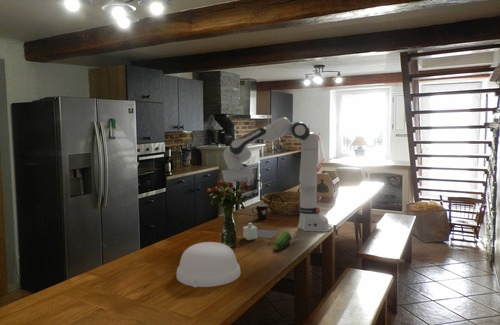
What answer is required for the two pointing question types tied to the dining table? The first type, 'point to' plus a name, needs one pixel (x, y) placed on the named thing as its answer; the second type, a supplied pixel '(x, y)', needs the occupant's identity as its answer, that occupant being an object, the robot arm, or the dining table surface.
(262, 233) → the mat
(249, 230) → the square capped bottle
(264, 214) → the coffee mug
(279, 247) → the vegetable
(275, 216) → the dining table surface
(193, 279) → the dome cover
